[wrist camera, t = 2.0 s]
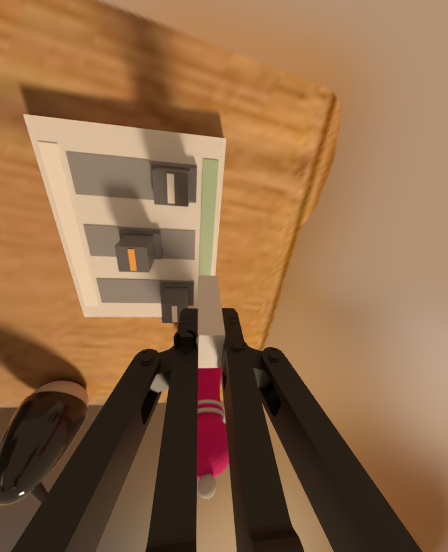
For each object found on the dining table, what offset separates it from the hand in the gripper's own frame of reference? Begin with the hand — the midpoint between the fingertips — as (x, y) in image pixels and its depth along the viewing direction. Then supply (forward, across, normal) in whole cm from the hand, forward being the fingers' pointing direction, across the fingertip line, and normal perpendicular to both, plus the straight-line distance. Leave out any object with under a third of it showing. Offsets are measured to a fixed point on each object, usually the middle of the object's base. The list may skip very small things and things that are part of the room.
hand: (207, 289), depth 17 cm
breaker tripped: (+10, -7, 0) cm, 12 cm away
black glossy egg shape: (+12, -24, -31) cm, 41 cm away
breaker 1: (+10, -3, +7) cm, 12 cm away
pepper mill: (+12, 0, -18) cm, 22 cm away
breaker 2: (+10, -3, -7) cm, 13 cm away
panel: (+12, -8, 0) cm, 14 cm away
